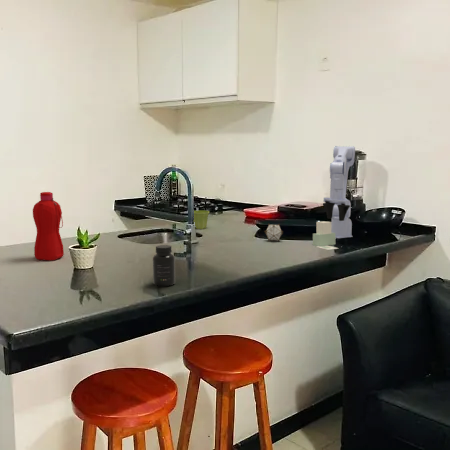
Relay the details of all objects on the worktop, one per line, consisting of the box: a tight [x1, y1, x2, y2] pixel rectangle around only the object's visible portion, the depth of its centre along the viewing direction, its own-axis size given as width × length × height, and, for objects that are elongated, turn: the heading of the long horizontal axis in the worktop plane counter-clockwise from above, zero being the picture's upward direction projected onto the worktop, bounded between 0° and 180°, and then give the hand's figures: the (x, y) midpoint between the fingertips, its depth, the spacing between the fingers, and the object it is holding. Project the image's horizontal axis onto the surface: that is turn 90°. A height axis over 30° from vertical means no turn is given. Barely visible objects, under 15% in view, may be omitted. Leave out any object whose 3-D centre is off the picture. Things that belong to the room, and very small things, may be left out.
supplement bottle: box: [152, 244, 176, 287], centre depth 158 cm, size 7×7×12 cm
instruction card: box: [314, 245, 339, 251], centre depth 217 cm, size 6×8×1 cm
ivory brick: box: [315, 221, 331, 234], centre depth 221 cm, size 4×4×5 cm
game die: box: [264, 222, 284, 242], centre depth 230 cm, size 9×8×10 cm
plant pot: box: [193, 210, 210, 230], centre depth 263 cm, size 9×9×9 cm
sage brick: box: [312, 232, 336, 246], centre depth 222 cm, size 9×4×5 cm, turn 121°
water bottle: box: [32, 191, 65, 261], centre depth 190 cm, size 9×11×25 cm
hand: (335, 219), depth 227 cm, fingers open, 7 cm apart
